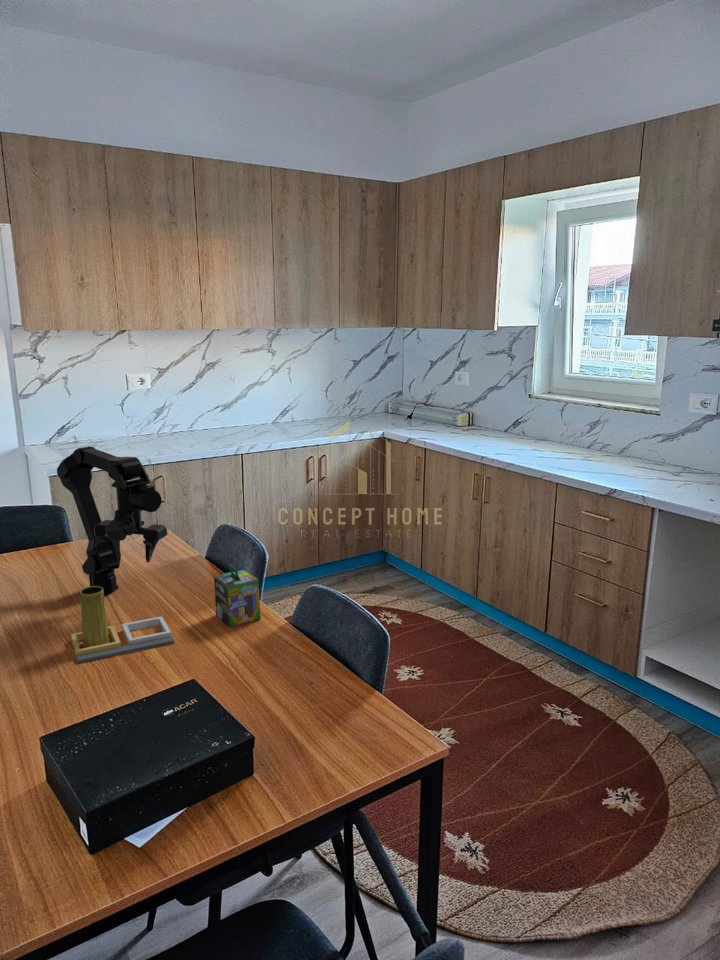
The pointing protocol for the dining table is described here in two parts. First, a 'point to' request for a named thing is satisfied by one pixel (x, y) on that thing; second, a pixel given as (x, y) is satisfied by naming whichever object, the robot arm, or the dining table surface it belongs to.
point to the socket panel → (134, 643)
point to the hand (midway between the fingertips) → (132, 560)
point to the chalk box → (237, 597)
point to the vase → (93, 617)
